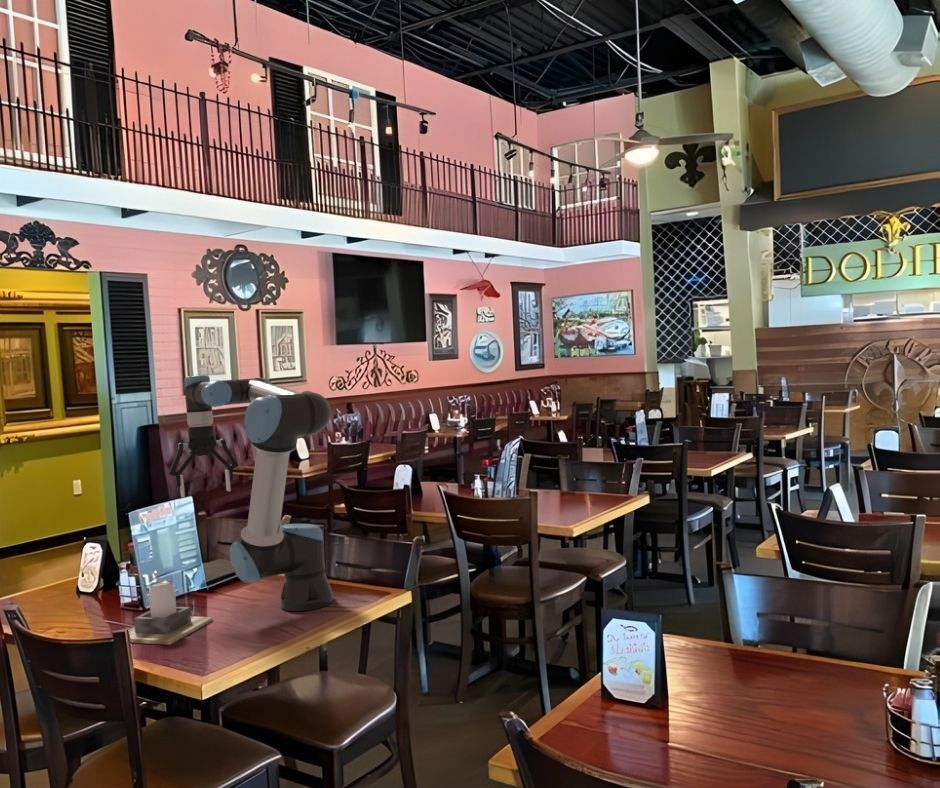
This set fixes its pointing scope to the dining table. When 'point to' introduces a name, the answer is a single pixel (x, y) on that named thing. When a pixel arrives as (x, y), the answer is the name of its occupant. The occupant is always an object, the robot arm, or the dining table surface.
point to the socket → (166, 627)
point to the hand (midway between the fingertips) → (206, 494)
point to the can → (162, 599)
